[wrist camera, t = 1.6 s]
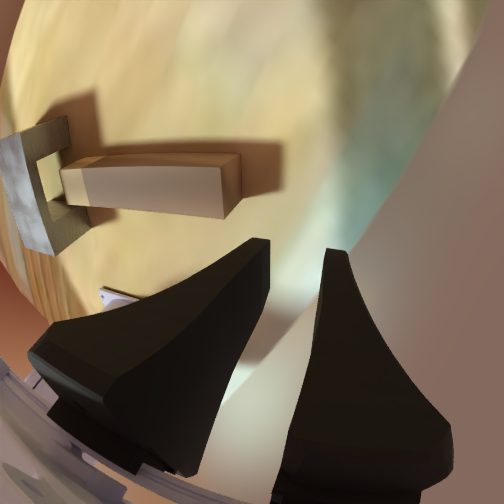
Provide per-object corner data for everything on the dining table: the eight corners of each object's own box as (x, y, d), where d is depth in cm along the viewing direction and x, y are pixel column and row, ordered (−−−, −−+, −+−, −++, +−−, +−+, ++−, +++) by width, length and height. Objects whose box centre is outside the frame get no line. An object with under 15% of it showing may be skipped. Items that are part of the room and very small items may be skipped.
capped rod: (242, 198, 19) (224, 219, 16) (91, 189, 23) (67, 204, 20) (240, 153, 17) (220, 167, 15) (84, 157, 21) (58, 170, 19)
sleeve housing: (91, 228, 25) (55, 256, 21) (57, 223, 27) (25, 247, 23) (66, 115, 19) (19, 132, 15) (34, 125, 21) (-6, 142, 17)
